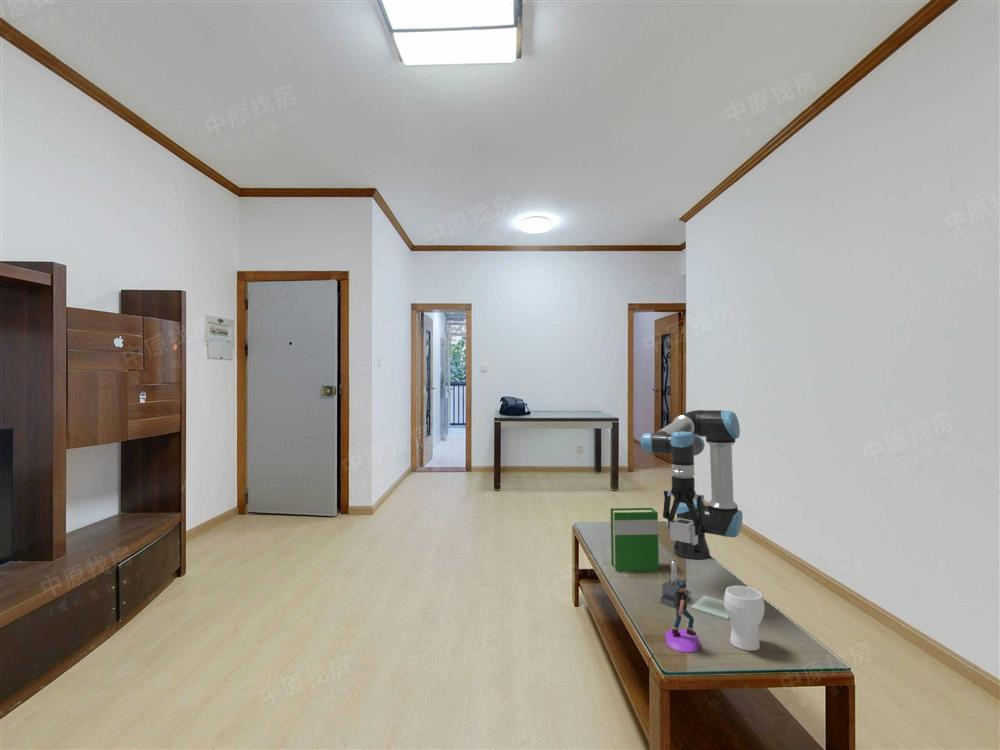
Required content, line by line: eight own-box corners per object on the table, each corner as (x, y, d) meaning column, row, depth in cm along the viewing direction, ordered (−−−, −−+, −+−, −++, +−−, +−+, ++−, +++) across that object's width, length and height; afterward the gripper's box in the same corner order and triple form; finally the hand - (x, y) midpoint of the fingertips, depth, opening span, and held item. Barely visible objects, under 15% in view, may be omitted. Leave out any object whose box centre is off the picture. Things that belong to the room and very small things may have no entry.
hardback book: (615, 571, 197) (614, 512, 197) (611, 565, 204) (610, 508, 205) (658, 571, 197) (657, 512, 197) (653, 564, 204) (651, 507, 205)
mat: (704, 597, 173) (704, 595, 173) (740, 607, 164) (739, 605, 164) (690, 608, 164) (690, 606, 164) (727, 620, 156) (727, 618, 156)
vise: (678, 589, 180) (678, 552, 180) (692, 593, 176) (691, 555, 176) (660, 603, 168) (659, 564, 169) (674, 607, 165) (673, 567, 165)
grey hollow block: (678, 534, 174) (678, 517, 175) (698, 538, 169) (697, 521, 170) (670, 539, 169) (669, 521, 170) (689, 543, 165) (689, 525, 165)
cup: (717, 635, 146) (716, 585, 147) (751, 633, 147) (749, 584, 147) (738, 655, 136) (736, 601, 136) (773, 652, 137) (772, 599, 137)
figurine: (706, 649, 139) (704, 586, 139) (677, 654, 137) (675, 589, 137) (687, 633, 148) (685, 574, 148) (659, 637, 146) (658, 577, 146)
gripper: (651, 474, 174) (652, 538, 174) (707, 481, 160) (708, 550, 160) (661, 471, 180) (662, 533, 179) (715, 478, 166) (717, 545, 165)
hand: (684, 541), depth 169 cm, fingers closed on grey hollow block, 7 cm apart
